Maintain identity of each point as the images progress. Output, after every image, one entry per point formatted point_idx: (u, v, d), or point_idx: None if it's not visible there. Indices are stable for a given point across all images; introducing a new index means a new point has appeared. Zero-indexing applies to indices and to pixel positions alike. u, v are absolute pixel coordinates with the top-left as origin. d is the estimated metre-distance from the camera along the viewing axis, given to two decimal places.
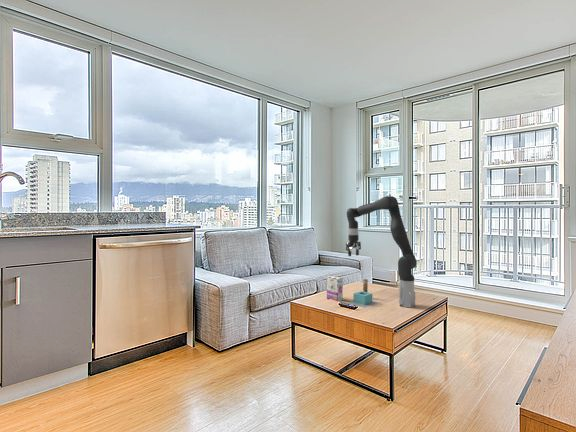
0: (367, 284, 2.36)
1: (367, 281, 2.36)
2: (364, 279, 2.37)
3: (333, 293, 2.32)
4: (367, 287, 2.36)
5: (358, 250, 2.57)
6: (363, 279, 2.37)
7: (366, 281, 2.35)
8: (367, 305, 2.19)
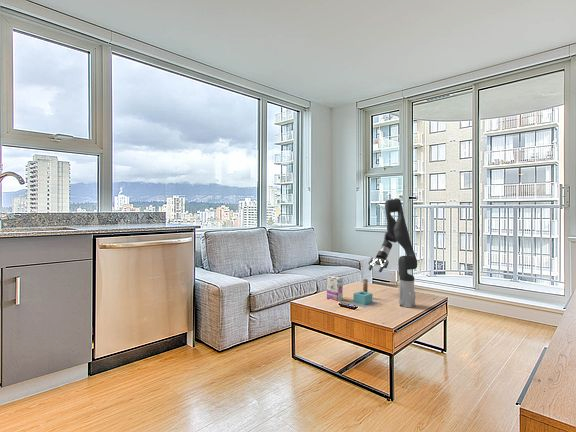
0: (367, 284, 2.36)
1: (367, 281, 2.36)
2: (364, 279, 2.37)
3: (333, 293, 2.32)
4: (367, 287, 2.36)
5: (382, 267, 2.42)
6: (363, 279, 2.37)
7: (366, 281, 2.35)
8: (367, 305, 2.19)
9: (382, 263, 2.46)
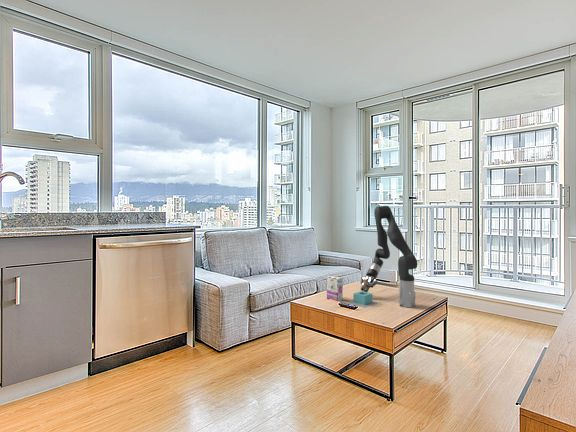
0: (367, 284, 2.36)
1: (367, 281, 2.36)
2: (364, 279, 2.37)
3: (333, 293, 2.32)
4: None
5: (368, 286, 2.35)
6: (363, 279, 2.37)
7: (366, 281, 2.35)
8: (367, 305, 2.19)
9: None
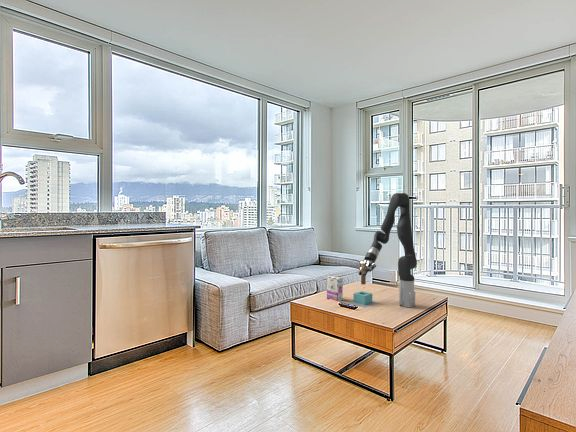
0: (365, 268, 2.26)
1: (365, 265, 2.26)
2: (362, 263, 2.27)
3: (333, 293, 2.32)
4: None
5: (366, 270, 2.25)
6: (361, 263, 2.27)
7: (364, 265, 2.25)
8: (367, 305, 2.19)
9: None
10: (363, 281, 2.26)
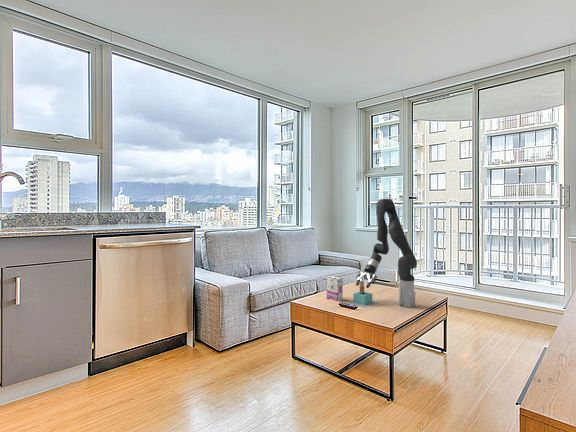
0: (363, 286, 2.25)
1: (363, 283, 2.24)
2: (360, 281, 2.26)
3: (333, 293, 2.32)
4: None
5: (369, 282, 2.23)
6: None
7: (362, 284, 2.24)
8: (367, 305, 2.19)
9: (370, 278, 2.27)
10: None
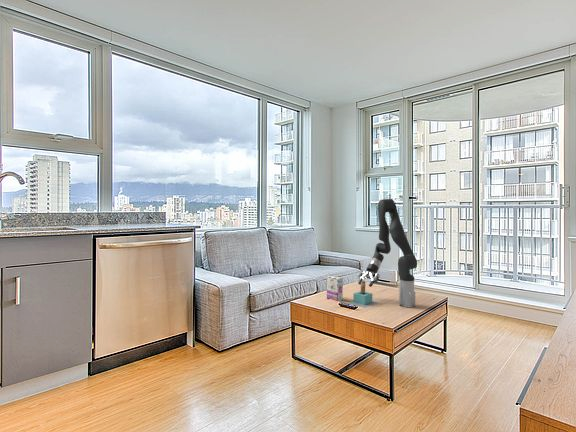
0: None
1: None
2: (362, 281, 2.27)
3: (333, 293, 2.32)
4: None
5: (372, 281, 2.26)
6: None
7: (364, 283, 2.25)
8: (367, 305, 2.19)
9: (372, 277, 2.30)
10: None
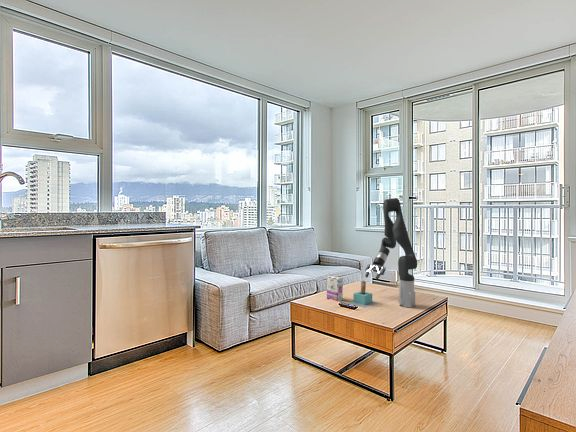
0: (365, 286, 2.25)
1: (365, 283, 2.25)
2: (362, 281, 2.26)
3: (333, 293, 2.32)
4: (365, 289, 2.26)
5: (379, 273, 2.35)
6: (361, 281, 2.26)
7: (364, 283, 2.25)
8: (367, 305, 2.19)
9: (379, 270, 2.38)
10: None
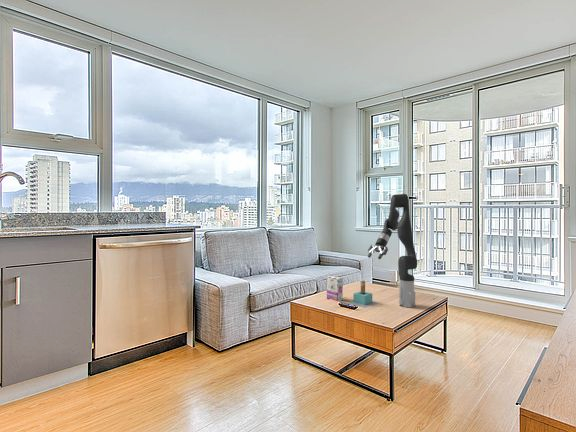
0: None
1: None
2: (361, 281, 2.27)
3: (333, 293, 2.32)
4: None
5: None
6: None
7: (363, 283, 2.25)
8: (367, 305, 2.19)
9: None
10: None
